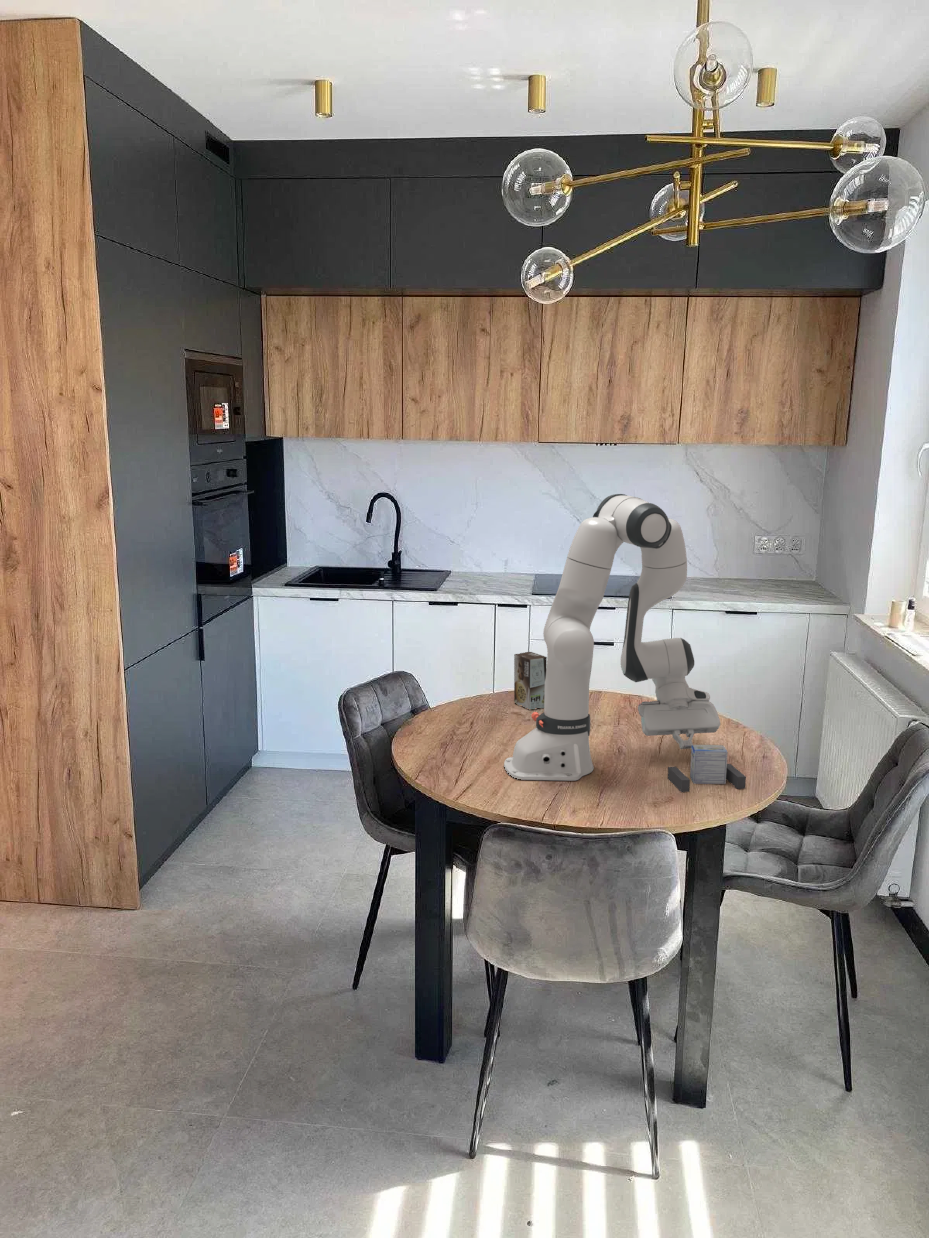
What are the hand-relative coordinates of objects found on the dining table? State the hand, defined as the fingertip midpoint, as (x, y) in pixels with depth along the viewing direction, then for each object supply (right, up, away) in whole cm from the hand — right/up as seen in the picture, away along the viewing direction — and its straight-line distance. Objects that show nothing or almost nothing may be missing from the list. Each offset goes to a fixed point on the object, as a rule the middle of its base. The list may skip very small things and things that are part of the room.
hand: (686, 748), depth 239 cm
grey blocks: (+2, -7, -12) cm, 14 cm away
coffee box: (-36, +6, +52) cm, 64 cm away
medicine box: (+3, -7, -10) cm, 13 cm away
